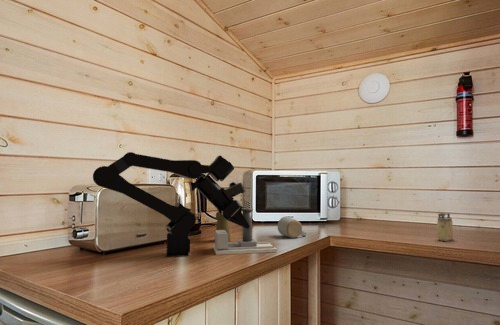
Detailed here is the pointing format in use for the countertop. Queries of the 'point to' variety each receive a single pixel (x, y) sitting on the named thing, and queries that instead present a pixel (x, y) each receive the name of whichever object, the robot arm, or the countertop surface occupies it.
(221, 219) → the cork
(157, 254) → the countertop surface
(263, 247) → the press base
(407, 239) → the countertop surface
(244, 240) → the press handle
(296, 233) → the ceramic mug
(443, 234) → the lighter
